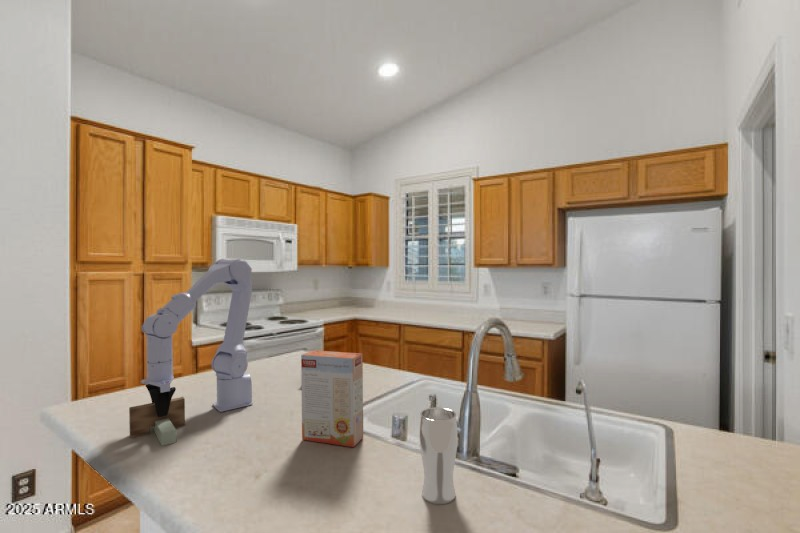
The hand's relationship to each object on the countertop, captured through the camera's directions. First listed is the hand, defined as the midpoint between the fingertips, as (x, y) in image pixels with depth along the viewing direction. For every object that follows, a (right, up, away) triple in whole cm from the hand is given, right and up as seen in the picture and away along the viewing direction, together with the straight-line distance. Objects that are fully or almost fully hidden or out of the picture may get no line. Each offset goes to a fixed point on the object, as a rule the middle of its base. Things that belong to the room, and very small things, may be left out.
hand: (160, 413), depth 103 cm
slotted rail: (0, -4, 0) cm, 4 cm away
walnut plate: (0, -4, 0) cm, 4 cm away
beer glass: (+69, -4, -30) cm, 75 cm away
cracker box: (+46, -4, -6) cm, 46 cm away
